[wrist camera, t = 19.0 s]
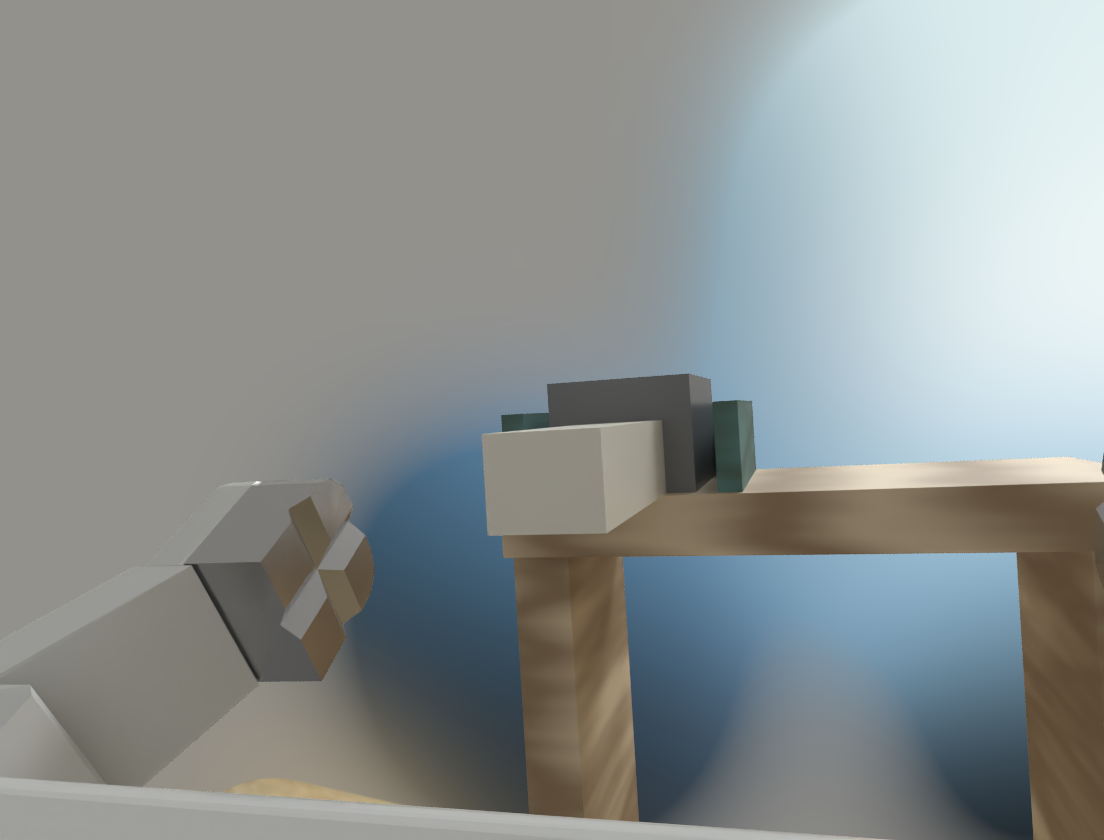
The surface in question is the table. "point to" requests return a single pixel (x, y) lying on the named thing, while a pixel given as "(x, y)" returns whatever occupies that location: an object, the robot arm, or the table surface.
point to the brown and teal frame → (814, 528)
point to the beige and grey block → (600, 455)
